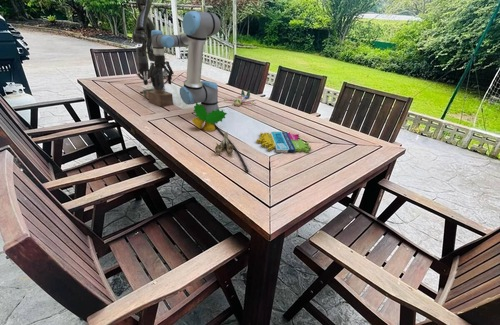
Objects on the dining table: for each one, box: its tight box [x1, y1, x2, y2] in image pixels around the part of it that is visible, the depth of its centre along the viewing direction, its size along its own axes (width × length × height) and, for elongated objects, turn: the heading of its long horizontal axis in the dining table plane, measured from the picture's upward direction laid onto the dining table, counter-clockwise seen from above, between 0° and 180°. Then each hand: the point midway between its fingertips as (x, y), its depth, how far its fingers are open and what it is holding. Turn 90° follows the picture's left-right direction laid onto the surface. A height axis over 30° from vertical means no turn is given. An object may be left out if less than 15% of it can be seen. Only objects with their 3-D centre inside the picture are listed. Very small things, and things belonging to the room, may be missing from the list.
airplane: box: [148, 69, 175, 83], centre depth 272 cm, size 38×32×10 cm
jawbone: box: [214, 131, 234, 156], centre depth 136 cm, size 9×15×10 cm
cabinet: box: [148, 89, 174, 108], centre depth 201 cm, size 16×10×8 cm, turn 50°
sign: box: [256, 131, 312, 154], centre depth 152 cm, size 26×2×30 cm
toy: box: [223, 89, 257, 106], centre depth 219 cm, size 28×7×30 cm
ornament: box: [191, 102, 228, 132], centre depth 162 cm, size 21×8×15 cm, turn 105°
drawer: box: [139, 88, 154, 100], centre depth 208 cm, size 20×9×6 cm, turn 50°
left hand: (145, 84), depth 209 cm, fingers closed
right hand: (162, 85), depth 194 cm, fingers open, 13 cm apart
